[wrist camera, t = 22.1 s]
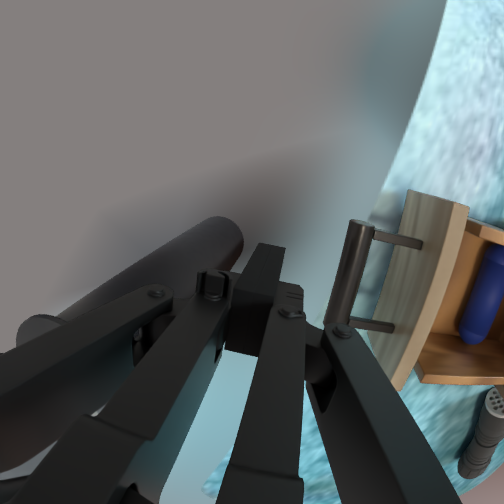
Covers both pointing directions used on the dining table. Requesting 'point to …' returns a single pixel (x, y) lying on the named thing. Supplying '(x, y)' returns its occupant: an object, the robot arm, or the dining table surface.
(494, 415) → the flashlight
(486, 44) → the dining table surface
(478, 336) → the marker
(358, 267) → the drawer
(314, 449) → the dining table surface
